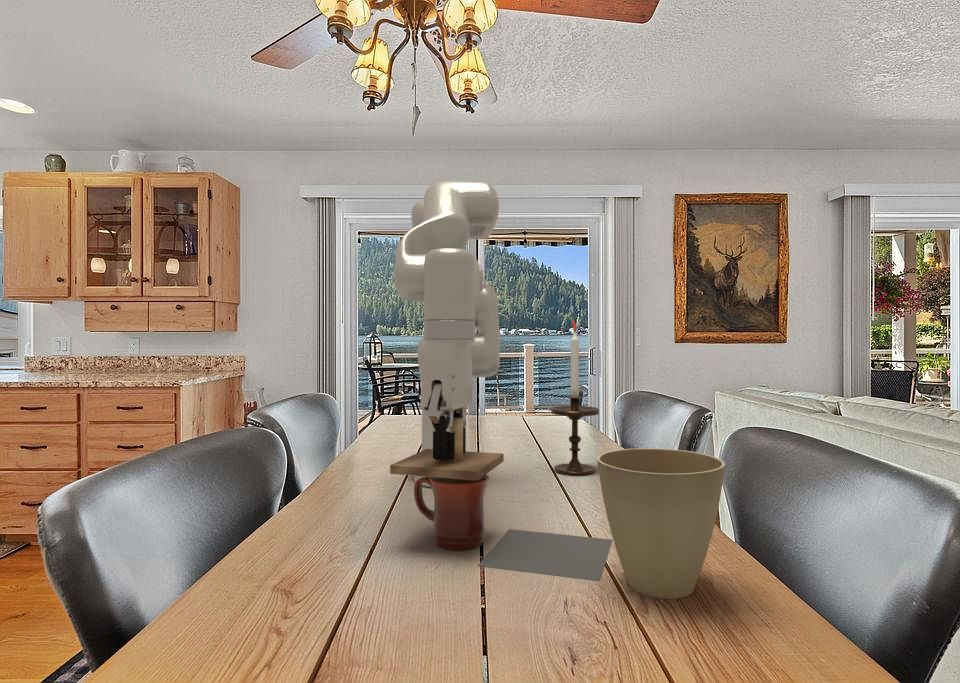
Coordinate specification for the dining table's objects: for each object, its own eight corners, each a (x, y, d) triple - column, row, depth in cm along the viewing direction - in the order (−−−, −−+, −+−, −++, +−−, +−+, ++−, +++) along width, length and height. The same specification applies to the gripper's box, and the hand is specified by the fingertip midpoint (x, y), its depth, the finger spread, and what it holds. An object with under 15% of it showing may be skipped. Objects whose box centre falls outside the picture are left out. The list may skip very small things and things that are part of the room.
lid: (390, 473, 85) (390, 422, 85) (426, 456, 98) (426, 411, 98) (477, 480, 81) (477, 427, 81) (503, 461, 94) (503, 415, 94)
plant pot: (629, 557, 84) (629, 443, 84) (740, 585, 75) (741, 457, 75) (574, 592, 73) (574, 460, 72) (698, 631, 63) (698, 479, 63)
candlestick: (542, 468, 140) (542, 318, 140) (581, 464, 145) (581, 319, 145) (567, 478, 131) (568, 317, 130) (608, 474, 135) (609, 318, 135)
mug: (498, 541, 91) (498, 473, 91) (470, 561, 83) (470, 486, 83) (431, 529, 96) (431, 465, 96) (399, 546, 88) (399, 477, 88)
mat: (477, 569, 80) (477, 565, 80) (509, 532, 95) (509, 529, 95) (599, 584, 75) (599, 580, 75) (612, 543, 90) (612, 539, 90)
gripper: (446, 333, 98) (446, 445, 99) (402, 332, 83) (402, 466, 83) (490, 333, 96) (490, 448, 96) (453, 332, 80) (453, 470, 80)
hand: (449, 455), depth 90 cm, fingers closed on lid, 3 cm apart
